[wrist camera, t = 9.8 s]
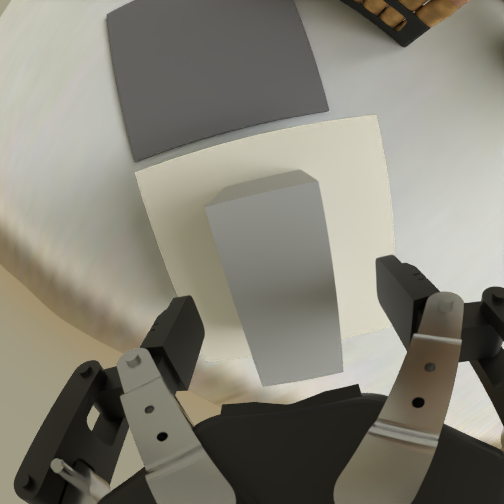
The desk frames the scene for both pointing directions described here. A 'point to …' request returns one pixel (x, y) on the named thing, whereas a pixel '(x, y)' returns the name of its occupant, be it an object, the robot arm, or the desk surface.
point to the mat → (209, 68)
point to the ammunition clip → (405, 15)
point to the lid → (278, 242)
